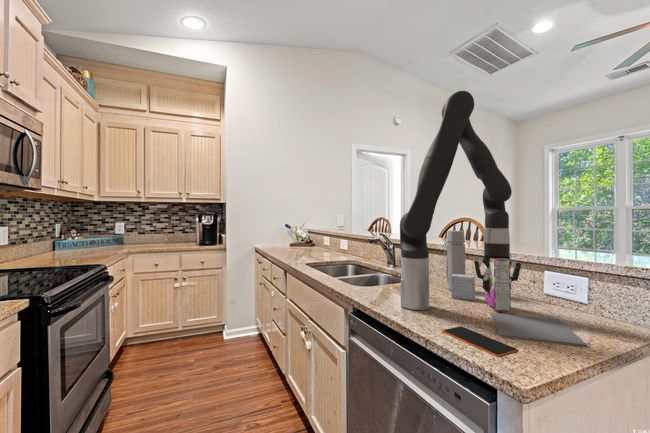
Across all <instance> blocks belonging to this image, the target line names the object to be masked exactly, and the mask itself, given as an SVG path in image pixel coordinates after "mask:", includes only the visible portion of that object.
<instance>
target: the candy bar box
mask: <svg viewBox="0 0 650 433" xmlns="http://www.w3.org/2000/svg"><path fill="white" fill-rule="evenodd" d="M510 260H511V259H510ZM510 260H508V259H506V258H490V259H489V266H490V275H489V277H488V279H487V280H488V292H486V291H485V290H484V301H485V302H486V303H487V304H488V305H489V306H490V307H491V308H493V309H494V311H502V312H503V311H504V312H505V311H506V312H511V303H512V302H511V300H512V299H511V291H510V277H511V265H510ZM483 267H484V268H483V271H484V272H483V273H485V271H486V269H487V270H488V268H487V267H486V266H485V264H484V263H483Z"/></svg>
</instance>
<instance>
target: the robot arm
mask: <svg viewBox="0 0 650 433" xmlns="http://www.w3.org/2000/svg"><path fill="white" fill-rule="evenodd" d="M474 108H475V99H474V96H473V95H472V94H471V93H470V92H469V91H466V90H459V91H456V92H454V93H452V94H451V95H450V96H449V97H448V98H447V100H446V101H445V103H444V104H443V106H442V109H441V117H442V120H441V123H440V127H439V128H438V131H437V133H436V135H435V137H434V139H433V140H432V142H431V144H430V146H429V148H428V149H427V153H426V154H425V157H424V158H423V162H422V165H421V168H420V171H419V175H418V181H417V186H416V193H415V196H414V199H413V200H412V204H411V205H410V208H409V210H408V212H406V213H404V214H403V215H402V217H401V218H400V223H399V246H400V254H401V255H400V256H401V262H400V263H401V279H400V307H401V308H405V309H408V310H414V311H422V310H423V311H425V310H429V309H430V253H429V252H430V250H429V248H428V242H427V234H428V232H430V229H431V225H432V222H433V217H434V214H435V210H436V206H437V202H438V200H439V198H440V195H441V194H442V191H443V189H444V187H445V184H446V182H447V180H448V178H449V175H450V172H451V170H452V167H453V166H452V165H453V164H454V160H455V157H456V154H457V151H458V147H459V145H460V146H461V148H462V150H463V152H464V154H465V157H466V158H467V159H468V160H467V161H468V162H469V164H470V166H471V168H472V171H473V172H474V175H475V176H476V178H477V179H478V180H480V181H481V182H482V185H483V186H484V189H483V191H482V203H483V210H484V232H483V233H484V234H483V258H482V259H479V260H477V259H475V260H473V263H474V267H475V268H474V269H475V274H476V277H477V278H479V279H481V280H482V289H483V291H484V292H485V291H486V292H488V280H487V279H488V277H489V275H490V266H489V259H490V258H506V259H508V260H510V266H512V269H513V272H512V275H511V276H510V292H511V290H512V282H517V281H518V280H519V276H520V271H521V268H522V264H521V263H520V262H518V261H512V260H511V256H510V254H511V253H510V252H511V250H510V249H511V246H510V245H511V241H510V238H511V234H510V216H509V213H508V211H506V204H505V203H506V202H508V200H509V199H510V198H511V196H512V190H513V189H512V187H511V186H512V185H510V183H509V181H508V179H507V178H506V176H505V175H504V174H503V172H502V171H501V170H500V169H499V167H498V164H497V162H496V160H495V158H494V156H493V154H492V152H491V150H490V149H489V147H488V146H487V145H486V143H484V141H483V140H482V139H481V138H480V136H478V134H477V133H476V131H475V129H474V128H473V125H472V123H471V120H470V119H471V118H470V117H471V115H472V113H473V112H474V110H475V109H474ZM482 264H483V265H484V264H485V266H486V267H487V268H488V270H487V269H486V271H485V273H484V272H483V273H484V274H481V273H482V272H481V268H480V267H482Z"/></svg>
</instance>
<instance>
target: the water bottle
mask: <svg viewBox="0 0 650 433" xmlns="http://www.w3.org/2000/svg"><path fill="white" fill-rule="evenodd" d="M465 238H466V237H465V231H464V230H447V231H446V239H445V241H446V242H444V243H443V244H444V251H443V253H444V256H446V266H445V274H446V275H445V276H444V273H443V271H444V267H442V270H441V274H442V279H446V282H447V283H446V289H447V290H449V291H451V276H452V275H453V274H459V275H466V240H465ZM444 260H445V258H443V261H442V264H444Z"/></svg>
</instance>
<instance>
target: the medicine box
mask: <svg viewBox="0 0 650 433" xmlns="http://www.w3.org/2000/svg"><path fill="white" fill-rule="evenodd" d="M450 291H451V292H450V293H451V295H450V297H451V299H459V300H465V301H475V300H476V278H475V275H469V274H465V275H459V274H453V275H452V276H451V290H450Z"/></svg>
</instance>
